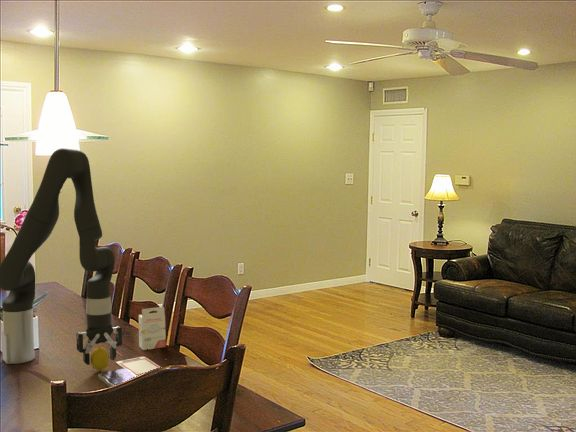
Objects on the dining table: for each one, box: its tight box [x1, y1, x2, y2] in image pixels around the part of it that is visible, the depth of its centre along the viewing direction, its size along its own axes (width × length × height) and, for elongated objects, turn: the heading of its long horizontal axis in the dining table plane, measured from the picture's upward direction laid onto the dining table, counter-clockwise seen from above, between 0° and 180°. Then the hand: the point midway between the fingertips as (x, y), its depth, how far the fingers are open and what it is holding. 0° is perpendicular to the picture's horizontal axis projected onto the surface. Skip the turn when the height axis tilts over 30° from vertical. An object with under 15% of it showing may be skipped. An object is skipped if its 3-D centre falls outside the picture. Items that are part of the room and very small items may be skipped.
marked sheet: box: [115, 356, 161, 376], centre depth 203 cm, size 10×18×1 cm, turn 36°
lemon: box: [90, 346, 110, 372], centre depth 199 cm, size 6×6×8 cm
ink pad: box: [98, 368, 136, 388], centre depth 191 cm, size 9×13×2 cm
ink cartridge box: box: [138, 306, 167, 351], centre depth 224 cm, size 9×5×15 cm, turn 117°
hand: (100, 361), depth 199 cm, fingers open, 7 cm apart
